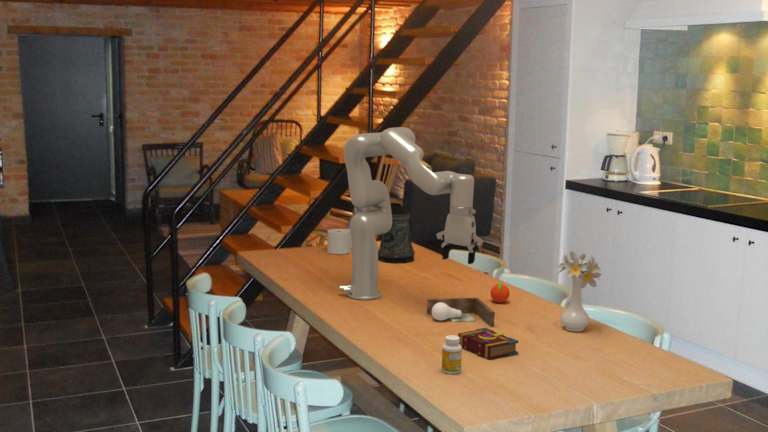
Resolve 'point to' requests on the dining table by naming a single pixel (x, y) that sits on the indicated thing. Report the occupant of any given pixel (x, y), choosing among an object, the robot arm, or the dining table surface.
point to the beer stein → (397, 238)
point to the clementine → (500, 293)
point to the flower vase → (578, 289)
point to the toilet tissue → (339, 241)
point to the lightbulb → (444, 312)
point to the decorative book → (488, 343)
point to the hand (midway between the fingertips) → (458, 261)
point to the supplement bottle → (451, 355)
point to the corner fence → (466, 309)
